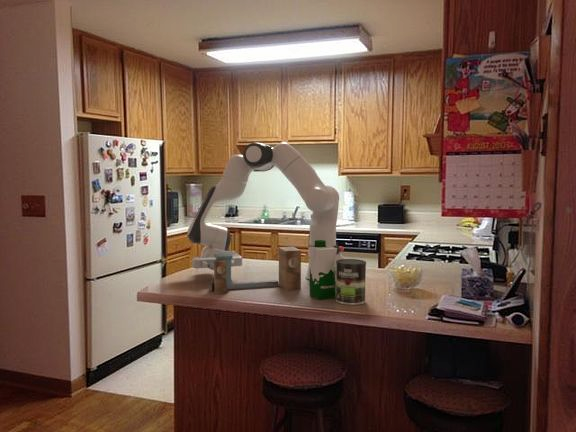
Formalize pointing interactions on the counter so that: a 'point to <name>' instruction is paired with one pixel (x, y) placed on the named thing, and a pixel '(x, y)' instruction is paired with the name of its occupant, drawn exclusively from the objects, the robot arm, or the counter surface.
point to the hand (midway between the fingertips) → (220, 265)
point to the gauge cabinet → (290, 268)
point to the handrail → (249, 285)
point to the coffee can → (350, 281)
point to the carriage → (228, 265)
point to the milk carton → (322, 270)
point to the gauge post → (220, 277)
